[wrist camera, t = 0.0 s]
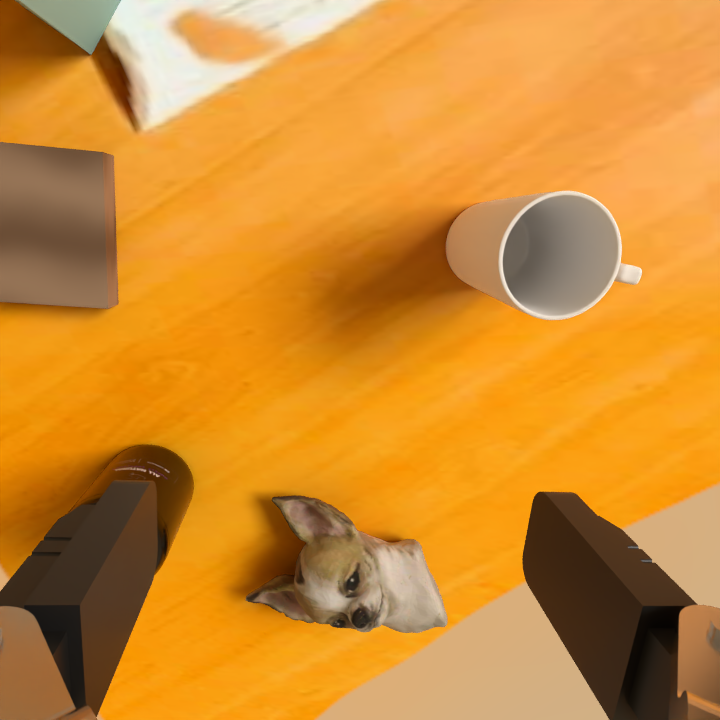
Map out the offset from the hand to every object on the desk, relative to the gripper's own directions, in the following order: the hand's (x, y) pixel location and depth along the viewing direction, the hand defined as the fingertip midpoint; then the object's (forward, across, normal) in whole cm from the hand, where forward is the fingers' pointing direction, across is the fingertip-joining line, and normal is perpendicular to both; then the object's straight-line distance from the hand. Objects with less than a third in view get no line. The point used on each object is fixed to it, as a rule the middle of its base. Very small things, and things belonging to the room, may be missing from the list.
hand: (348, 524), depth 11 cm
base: (+29, +19, -4) cm, 35 cm away
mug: (+30, -14, -5) cm, 33 cm away
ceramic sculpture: (+30, -4, +21) cm, 37 cm away
